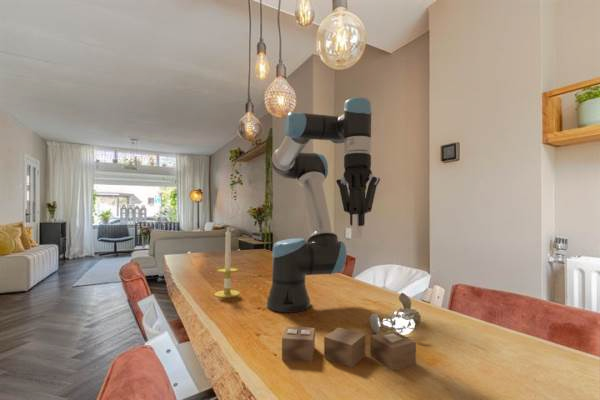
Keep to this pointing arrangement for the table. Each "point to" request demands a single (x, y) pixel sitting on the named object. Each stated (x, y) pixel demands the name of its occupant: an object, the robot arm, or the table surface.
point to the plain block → (344, 347)
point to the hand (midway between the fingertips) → (357, 237)
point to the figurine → (394, 323)
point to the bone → (409, 308)
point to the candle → (227, 271)
